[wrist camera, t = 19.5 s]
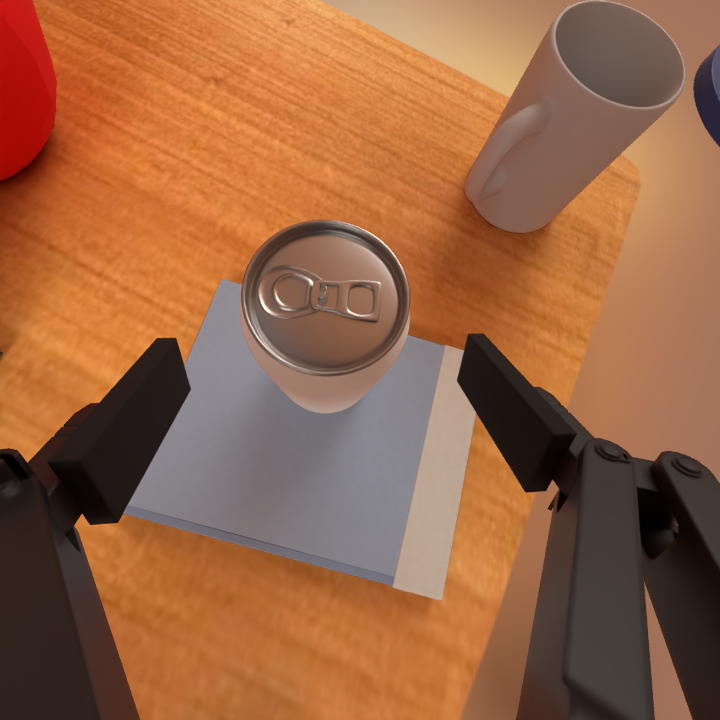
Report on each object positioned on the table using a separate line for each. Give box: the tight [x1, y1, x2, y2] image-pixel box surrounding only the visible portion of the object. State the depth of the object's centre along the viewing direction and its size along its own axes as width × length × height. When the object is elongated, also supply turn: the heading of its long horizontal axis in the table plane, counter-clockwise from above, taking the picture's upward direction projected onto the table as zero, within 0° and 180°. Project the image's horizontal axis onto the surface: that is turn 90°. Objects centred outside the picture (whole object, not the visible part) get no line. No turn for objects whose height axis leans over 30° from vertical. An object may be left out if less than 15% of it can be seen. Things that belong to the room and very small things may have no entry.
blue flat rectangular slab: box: [123, 279, 476, 601], centre depth 22 cm, size 20×16×1 cm
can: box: [241, 220, 410, 413], centre depth 17 cm, size 6×6×12 cm
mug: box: [464, 0, 686, 233], centre depth 23 cm, size 12×8×11 cm
